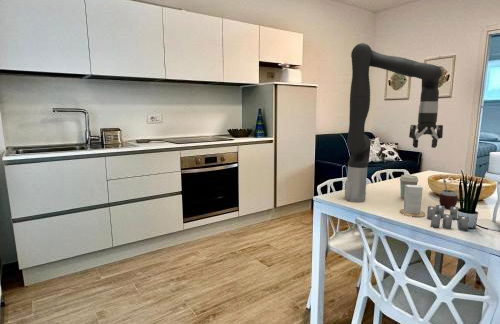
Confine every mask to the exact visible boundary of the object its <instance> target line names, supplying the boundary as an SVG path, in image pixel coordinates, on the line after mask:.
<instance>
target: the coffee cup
mask: <svg viewBox="0 0 500 324" xmlns="http://www.w3.org/2000/svg"><path fill="white" fill-rule="evenodd" d="M399 180H400V199H401V200H403V201H404V195H405V185H418V182H419V178H418V176H416V175H412V174H401V176H400V178H399Z"/></svg>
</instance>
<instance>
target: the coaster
mask: <svg viewBox="0 0 500 324" xmlns="http://www.w3.org/2000/svg"><path fill="white" fill-rule="evenodd" d="M403 209H404V208H402V209H400V210H399V213H400V214H401V215H403V214H404V215H403V216H405V215H407V216H406V217H409V216H412V217H411V218H424V217H425V216H426V213H425V211H421V212H420V214H412V213H405V212H404V211H403Z"/></svg>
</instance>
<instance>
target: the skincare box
mask: <svg viewBox="0 0 500 324" xmlns="http://www.w3.org/2000/svg"><path fill="white" fill-rule="evenodd" d="M422 196H423V186H421V185H419V184H417V185H405V195H404V200H403V208H402V209H403V211H404V212H405V213H412V214H420V212H421V210H422V209H421V208H422V201H423V200H422V199H423V197H422Z"/></svg>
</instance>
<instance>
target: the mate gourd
mask: <svg viewBox="0 0 500 324" xmlns="http://www.w3.org/2000/svg"><path fill="white" fill-rule="evenodd" d="M439 176H440V177H441V178H442V181H443V182H444V187H445V189H443V190H441V191H440V194H439V205H443V206H445V207H444V209H446V210H447V211H448V210H449V209H451V206H456V207H457V203H458V194H457V192H456V191H455V190H451V189H448V187H447V182H446V179H445V177H444V176H443V175H442V174H439ZM449 211H450V210H449Z"/></svg>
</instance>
